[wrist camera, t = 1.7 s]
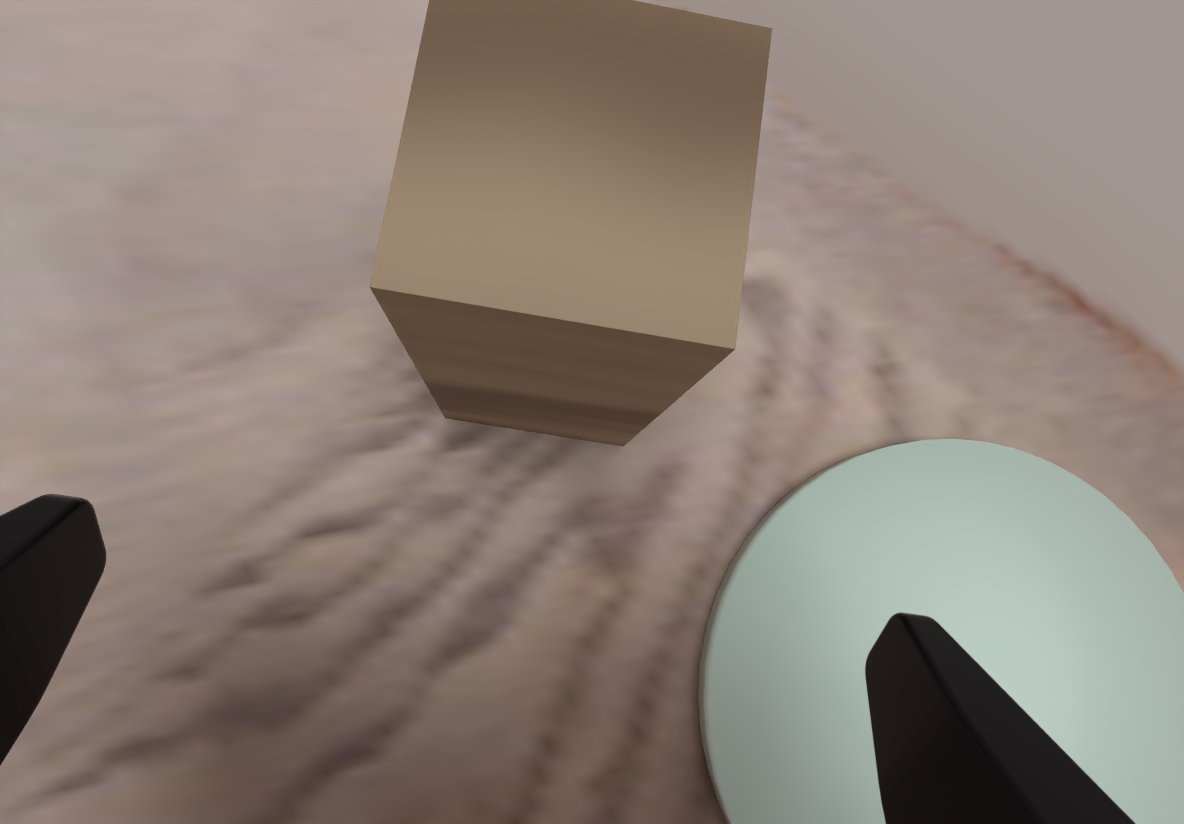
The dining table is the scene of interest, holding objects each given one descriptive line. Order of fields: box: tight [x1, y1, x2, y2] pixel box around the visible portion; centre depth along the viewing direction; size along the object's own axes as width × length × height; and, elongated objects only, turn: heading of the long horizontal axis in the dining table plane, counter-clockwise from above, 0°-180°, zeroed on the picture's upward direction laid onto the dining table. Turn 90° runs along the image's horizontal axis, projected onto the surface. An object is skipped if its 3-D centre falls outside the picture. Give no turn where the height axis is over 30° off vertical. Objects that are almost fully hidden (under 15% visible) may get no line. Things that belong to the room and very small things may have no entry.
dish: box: [698, 439, 1184, 824], centre depth 20 cm, size 14×14×1 cm
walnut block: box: [370, 0, 772, 446], centre depth 16 cm, size 5×5×11 cm
